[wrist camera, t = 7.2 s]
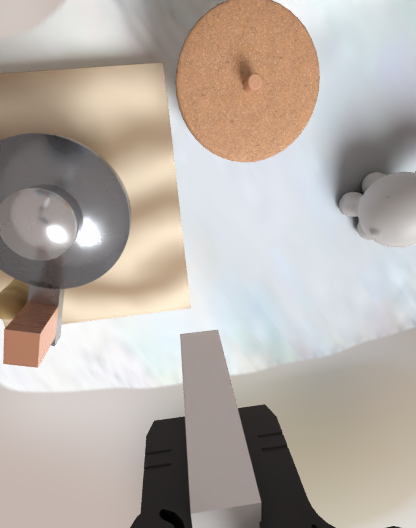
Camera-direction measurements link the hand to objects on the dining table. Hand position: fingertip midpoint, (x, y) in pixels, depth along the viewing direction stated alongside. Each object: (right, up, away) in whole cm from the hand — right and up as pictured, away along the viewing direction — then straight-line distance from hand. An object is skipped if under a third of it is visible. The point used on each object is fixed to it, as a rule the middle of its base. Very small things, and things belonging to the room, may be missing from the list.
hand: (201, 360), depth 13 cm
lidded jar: (+2, +20, +18) cm, 27 cm away
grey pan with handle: (-13, +6, +14) cm, 20 cm away
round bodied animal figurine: (+20, +12, +23) cm, 33 cm away
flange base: (-13, +10, +19) cm, 25 cm away
